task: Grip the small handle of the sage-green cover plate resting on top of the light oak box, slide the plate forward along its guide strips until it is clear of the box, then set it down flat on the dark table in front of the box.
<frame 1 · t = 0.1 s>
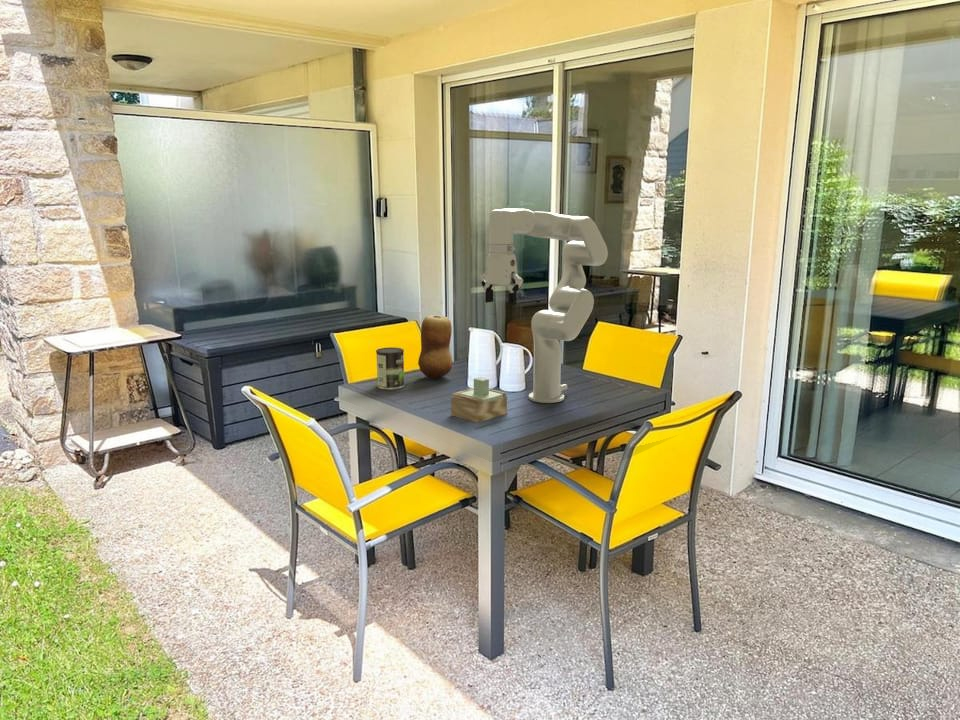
hand: (500, 303, 226), 37 cm above the table, tool pointing down, fingers open, 9 cm apart
cover plate: (481, 397, 231), point 6 cm above the table, touching box
butternut squash: (435, 378, 280), on the table
coffee can: (391, 386, 268), on the table
box: (479, 414, 233), on the table
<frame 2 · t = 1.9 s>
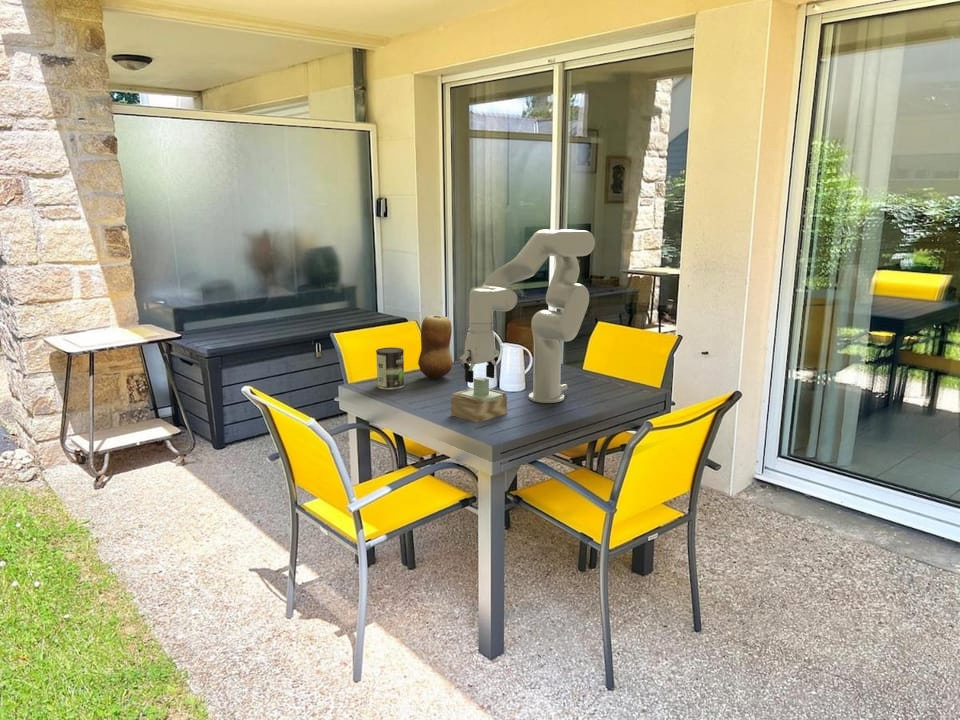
hand: (479, 379, 229), 12 cm above the table, tool pointing down, fingers open, 9 cm apart
nothing on the table moved.
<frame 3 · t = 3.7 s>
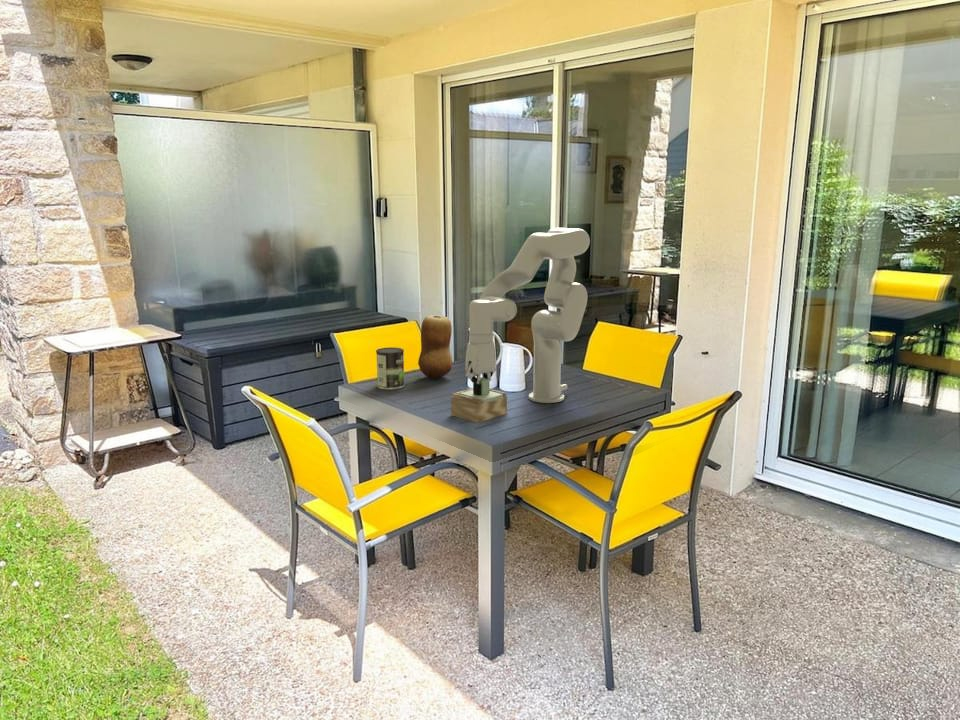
hand: (481, 393, 230), 7 cm above the table, tool pointing down, fingers closed on cover plate, 3 cm apart
cover plate: (481, 397, 231), point 6 cm above the table, touching box, gripper
everything else where it was.
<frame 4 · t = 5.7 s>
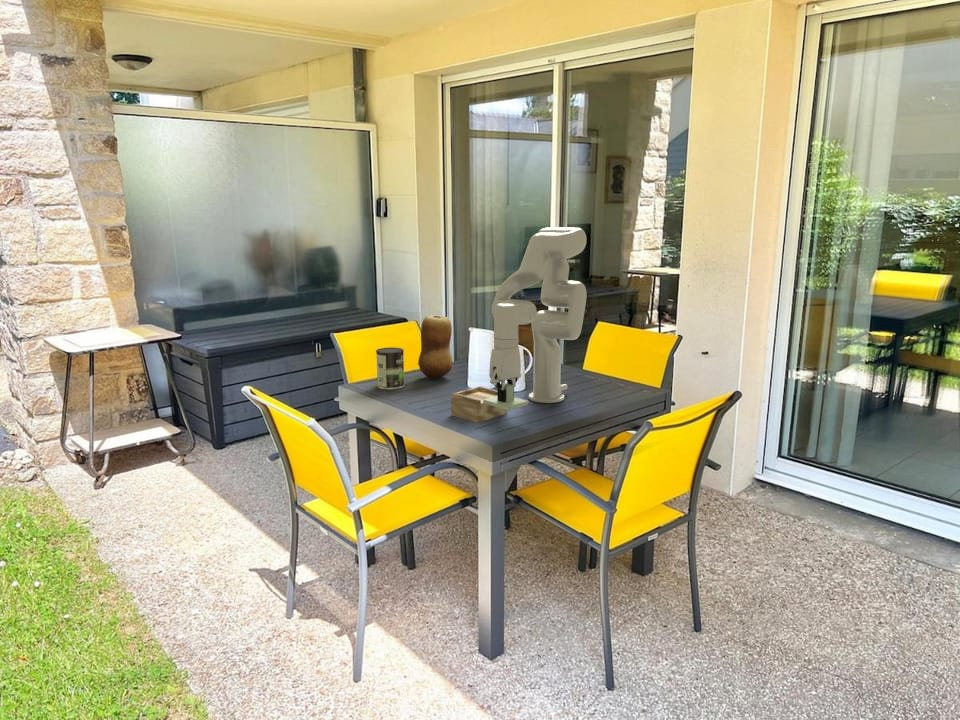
hand: (505, 399, 223), 7 cm above the table, tool pointing down, fingers closed on cover plate, 3 cm apart
cover plate: (505, 403, 223), point 6 cm above the table, touching gripper
everything else where it was.
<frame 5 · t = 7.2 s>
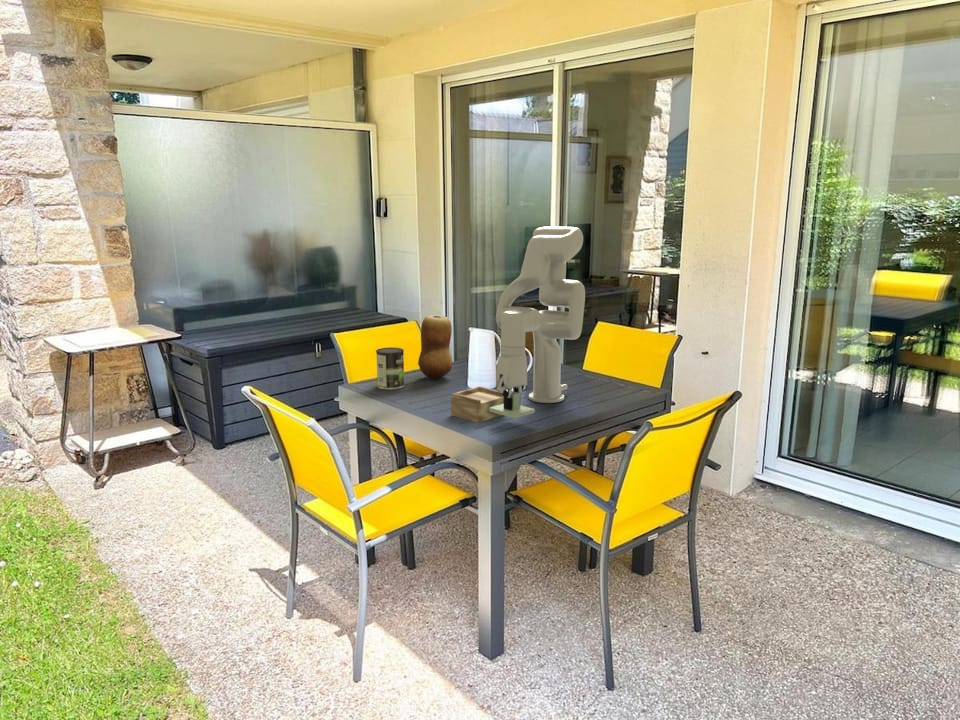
hand: (512, 407, 221), 5 cm above the table, tool pointing down, fingers closed on cover plate, 3 cm apart
cover plate: (511, 412, 221), point 4 cm above the table, touching gripper
everything else where it was.
when the fingers open (3 cm above the table, at t = 8.2 s): cover plate drops 2 cm, on the table.
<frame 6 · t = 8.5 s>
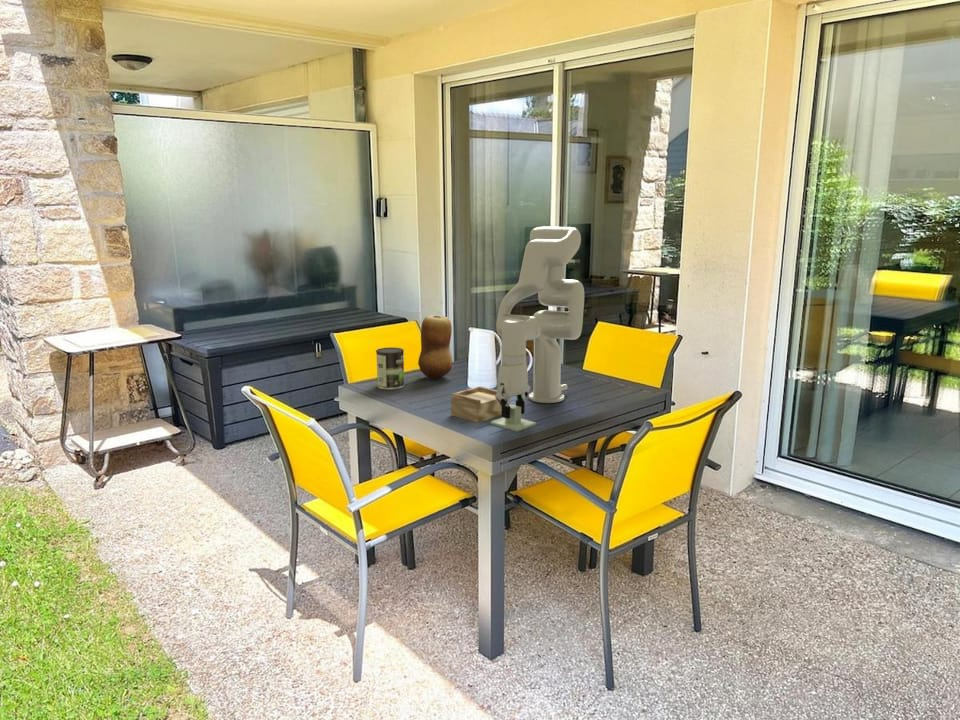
hand: (513, 414, 222), 3 cm above the table, tool pointing down, fingers open, 6 cm apart
cover plate: (513, 425, 223), on the table
everything else where it was.
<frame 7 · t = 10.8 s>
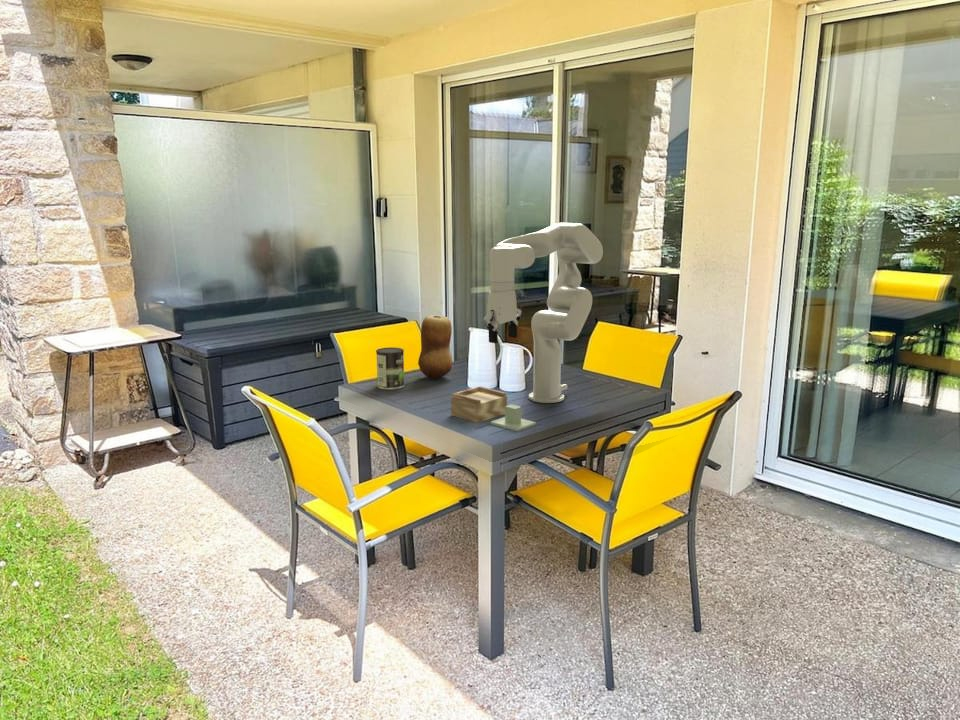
hand: (503, 339, 225), 25 cm above the table, tool pointing down, fingers open, 9 cm apart
nothing on the table moved.
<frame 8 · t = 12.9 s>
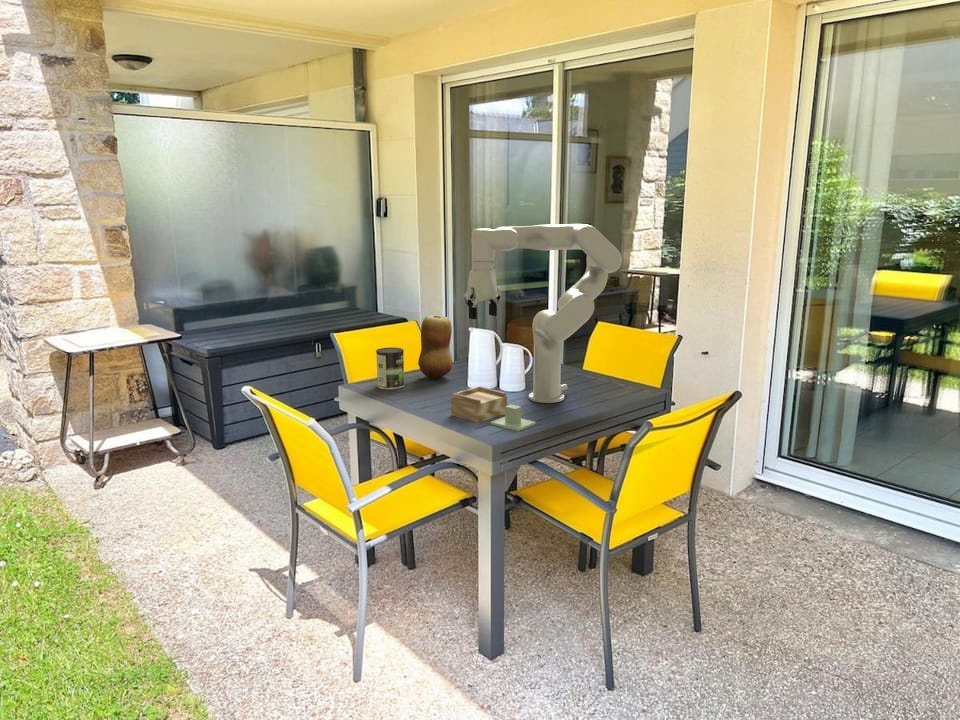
hand: (483, 317, 238), 30 cm above the table, tool pointing down, fingers open, 9 cm apart
nothing on the table moved.
at the end: cover plate inside the target area (0.5 cm from its centre), on the table; cover plate tilted 0°; cover plate touching table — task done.
